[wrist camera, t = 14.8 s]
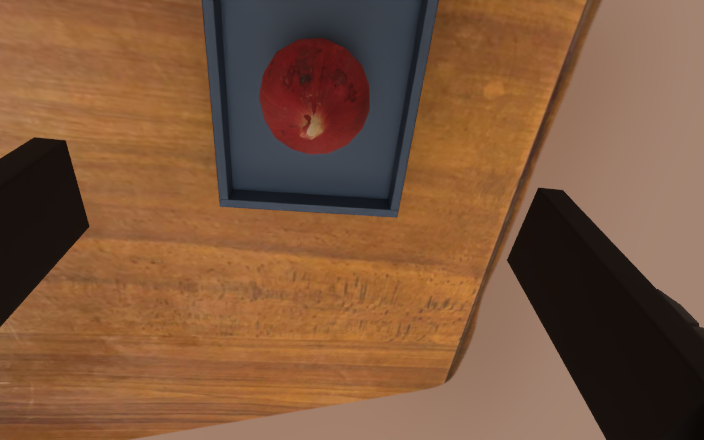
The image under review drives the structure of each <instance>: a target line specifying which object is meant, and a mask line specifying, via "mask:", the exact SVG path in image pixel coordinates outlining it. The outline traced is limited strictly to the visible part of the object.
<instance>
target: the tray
mask: <svg viewBox="0 0 704 440" xmlns="http://www.w3.org/2000/svg"><path fill="white" fill-rule="evenodd" d="M438 1H439V0H202V8H203V19H204V30H205V42H206V53H207V65H208V76H209V87H210V99H211V110H212V121H213V133H214V144H215V155H216V167H217V178H218V189H219V201H220V207H234V208H250V209H267V210H283V211H299V212H316V213H332V214H349V215H365V216H381V217H397V216H398V210H399V205H400V200H401V195H402V190H403V184H404V179H405V174H406V169H407V163H408V158H409V153H410V148H411V142H412V137H413V132H414V127H415V122H416V116H417V111H418V106H419V101H420V95H421V90H422V85H423V80H424V75H425V69H426V64H427V59H428V54H429V48H430V43H431V38H432V33H433V27H434V22H435V17H436V12H437V7H438ZM312 38H325V39H327V40H329V41H331V42H333V43H335V44H338V45H340V46H342V47H344V48H346V49H347V50H348V51H349V52H350V53H351V54H352V55H353V57H354V58H355V59H356V60H357V61H358V62H359V63H360V64H361V65H362V67H363V69H364V72H365V75H366V78H367V80H368V83H369V91H370V110H369V113H368V115H367V118H366V121H365V124H364V126H363V129H362V130H361V131H360V132H359V133H358V134H357V135H356V136H355V137H354V138H353V139H352V140H351V142H350V143H349V144H347V145H346V146H344V147H342V148H339V149H337V150H335V151H333V152H331V153H326V154H311V155H310V154H307V153H303V152H299V151H296V150H292V149H291V148H289V147H288V146H286V145H285V144H283V143H282V142H280V141H279V140H277V139H276V138H275V137H274V135H273V133H272V131H271V130H270V128H269V126H268V124H267V123H266V121H265V119H264V117H263V112H262V108H261V103H260V99H259V94H260V89H261V83H262V77H263V74H264V71H265V70H266V68H267V66H268V65H269V63H270V62H271V60H272V58H273V57H274V55H275V54H276V52H277V51H279V50H281V49H282V48H284V47H286V46H288V45H289V44H291V43H293V42H295V41H296V40H298V39H312Z"/></svg>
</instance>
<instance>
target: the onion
mask: <svg viewBox="0 0 704 440" xmlns="http://www.w3.org/2000/svg"><path fill="white" fill-rule="evenodd" d="M259 99H260V103H261V108H262V112H263V117H264V119H265V121H266V123H267V124H268V126H269V128H270V130H271V131H272V133H273V135H274V137H275V138H276V139H277V140H279V141H280V142H282V143H283V144H285V145H286V146H288V147H289V148H291V149H292V150H296V151H299V152H303V153H307V154H310V155H311V154H326V153H331V152H333V151H335V150H337V149H339V148H342V147H344V146H346V145H347V144H349V143H350V142H351V140H352V139H353V138H354V137H355V136H356V135H357V134H358V133H359V132H360V131H361V130H362V129H363V126H364V124H365V121H366V118H367V115H368V113H369V110H370V91H369V83H368V80H367V78H366V75H365V72H364V69H363V67H362V65H361V64H360V63H359V62H358V61H357V60H356V59H355V58H354V57H353V55H352V54H351V53H350V52H349V51H348V50H347V49H346V48H344V47H342V46H340V45H338V44H335V43H333V42H331V41H329V40H327V39H325V38H312V39H298V40H296V41H295V42H293V43H291V44H289V45H288V46H286V47H284V48H282V49H281V50H279V51H277V52H276V54H275V55H274V57H273V58H272V60H271V62H270V63H269V65H268V66H267V68H266V70H265V71H264V74H263V77H262V83H261V89H260V94H259Z"/></svg>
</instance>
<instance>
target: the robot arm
mask: <svg viewBox="0 0 704 440" xmlns="http://www.w3.org/2000/svg"><path fill="white" fill-rule="evenodd" d="M88 228H89V223H88V220H87V216H86V213H85V209H84V205H83V202H82V198H81V195H80V191H79V187H78V184H77V180H76V176H75V173H74V169H73V166H72V162H71V158H70V155H69V151H68V147H67V144H66V141H65V140H55V139H45V138H35V137H34V138H33V139H31V140H30V141H28V142H26V143H25V144H23V145H21V146H20V147H18V148H17V149H15V150H13V151H12V152H10V153H9V154H7V155H5V156H4V157H2V158H1V159H0V327H1V325H2V324H3V323H4V322H5V321H6V320H7V319H8V318H9V316H10V315H11V314H12V313H13V312H14V311H15V310H16V309H17V307H18V306H19V305H20V304H21V303H22V302H23V301H24V300H25V298H26V297H27V296H28V295H29V294H30V293H31V292H32V291H33V289H34V288H35V287H36V286H37V285H38V284H39V283H40V282H41V280H42V279H43V278H44V277H45V276H46V275H47V274H48V273H49V271H50V270H51V269H52V268H53V267H54V266H55V265H56V264H57V262H58V261H59V260H60V259H61V258H62V257H63V256H64V255H65V253H66V252H67V251H68V250H69V249H70V248H71V247H72V246H73V244H74V243H75V242H76V241H77V240H78V239H79V238H80V237H81V235H82V234H83V233H84V232H85V231H86V230H87V229H88ZM507 261H508V263H509V265H510V266H511V268H512V270H513V272H514V274H515V275H516V277H517V279H518V281H519V283H520V285H521V286H522V288H523V290H524V292H525V294H526V295H527V297H528V299H529V301H530V303H531V304H532V306H533V308H534V310H535V312H536V314H537V315H538V317H539V319H540V321H541V323H542V324H543V326H544V328H545V330H546V332H547V333H548V335H549V337H550V339H551V340H552V342H553V344H554V346H555V348H556V349H557V351H558V353H559V355H560V357H561V358H562V360H563V362H564V364H565V366H566V367H567V369H568V371H569V373H570V375H571V377H572V378H573V380H574V382H575V384H576V386H577V387H578V389H579V391H580V393H581V395H582V396H583V398H584V400H585V401H586V404H587V405H588V407H589V409H590V411H591V413H592V415H593V416H594V418H595V420H596V422H597V423H598V425H599V427H600V429H601V431H602V432H603V434H604V436H605V438H606V440H704V328H702V327H699V323H698V322H697V321H696V320H695V319H694V318H693V317H692V316H691V315H690V314H689V313H688V312H687V311H686V310H685V309H684V308H683V307H682V306H681V305H680V304H678V303H677V302H676V301H674V300H673V299H671V298H670V297H669V296H667V295H666V294H664V293H663V292H662V291H660V290H659V289H656V288H655V287H654V286H653V285H652V284H651V283H650V282H649V281H648V280H647V279H646V277H645V276H644V275H643V274H642V273H641V272H640V271H639V270H638V269H637V268H636V267H635V266H634V265H633V264H632V263H631V262H630V261H629V260H628V258H627V257H625V255H624V254H623V253H622V252H621V251H620V250H619V249H618V248H617V247H616V246H615V245H614V244H613V243H612V242H611V241H610V239H608V237H607V236H606V235H605V234H604V233H603V232H602V231H601V230H600V229H599V228H598V227H597V226H596V225H595V224H594V223H593V222H592V220H591V219H590V218H589V217H588V216H587V215H586V214H585V213H584V212H583V211H582V210H581V209H580V208H579V207H578V206H577V205H576V204H575V203H574V202H573V200H572V199H571V198H570V197H569V196H568V195H567V194H566V193H565V192H564V191H563V190H556V189H546V188H538V190H537V192H536V194H535V196H534V199H533V201H532V203H531V206H530V208H529V210H528V213H527V215H526V218H525V220H524V222H523V224H522V227H521V229H520V231H519V234H518V236H517V238H516V240H515V243H514V245H513V247H512V250H511V252H510V255H509V257H508V259H507Z"/></svg>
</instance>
